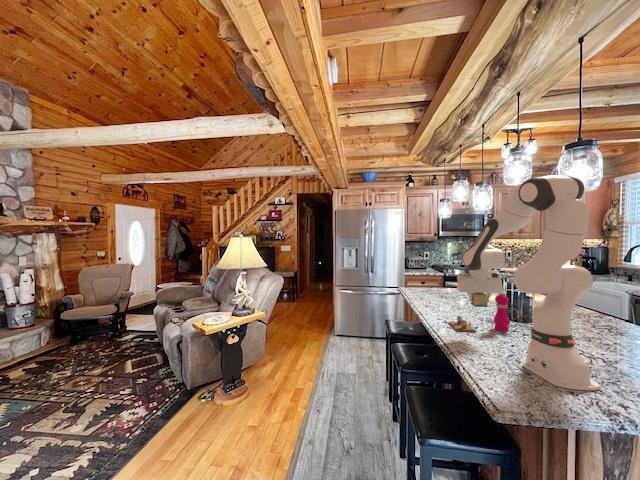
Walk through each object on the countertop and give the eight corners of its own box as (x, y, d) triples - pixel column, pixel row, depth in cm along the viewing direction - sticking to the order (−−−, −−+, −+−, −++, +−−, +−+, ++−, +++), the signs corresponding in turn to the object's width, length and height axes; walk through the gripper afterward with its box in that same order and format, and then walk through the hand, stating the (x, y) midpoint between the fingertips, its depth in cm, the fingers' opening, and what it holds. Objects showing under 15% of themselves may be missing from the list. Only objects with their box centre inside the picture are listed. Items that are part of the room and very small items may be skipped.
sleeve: (487, 307, 139) (487, 294, 139) (475, 306, 140) (475, 294, 139) (482, 304, 144) (482, 292, 144) (470, 303, 145) (470, 292, 145)
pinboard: (475, 332, 146) (475, 322, 146) (457, 331, 148) (457, 322, 148) (465, 323, 160) (465, 315, 160) (448, 323, 162) (448, 314, 162)
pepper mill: (505, 327, 154) (505, 290, 153) (512, 332, 146) (513, 293, 146) (490, 327, 154) (491, 290, 154) (497, 331, 147) (498, 293, 147)
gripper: (459, 274, 140) (459, 302, 140) (504, 274, 137) (504, 303, 137) (455, 272, 146) (454, 299, 146) (498, 272, 143) (497, 300, 144)
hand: (479, 301), depth 142 cm, fingers closed on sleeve, 6 cm apart
